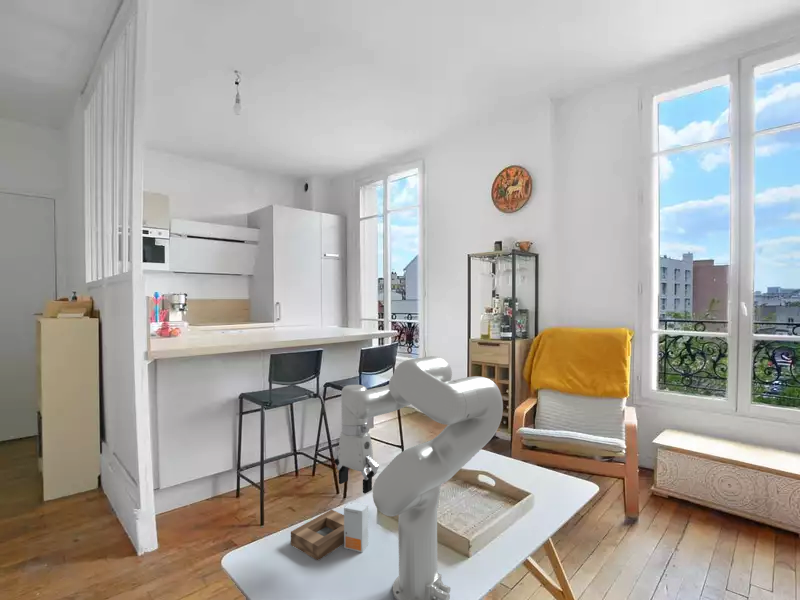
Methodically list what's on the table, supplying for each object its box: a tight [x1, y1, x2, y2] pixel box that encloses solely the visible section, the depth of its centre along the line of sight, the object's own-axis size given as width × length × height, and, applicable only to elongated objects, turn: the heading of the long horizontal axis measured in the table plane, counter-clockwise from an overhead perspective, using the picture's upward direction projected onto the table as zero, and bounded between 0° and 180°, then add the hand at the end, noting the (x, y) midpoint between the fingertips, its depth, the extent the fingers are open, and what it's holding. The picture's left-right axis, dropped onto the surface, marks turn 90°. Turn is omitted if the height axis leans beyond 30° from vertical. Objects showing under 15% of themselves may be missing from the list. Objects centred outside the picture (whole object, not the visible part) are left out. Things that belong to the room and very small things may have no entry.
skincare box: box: [343, 501, 369, 553], centre depth 121 cm, size 6×4×12 cm
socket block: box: [290, 509, 344, 561], centre depth 125 cm, size 12×16×4 cm
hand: (355, 487), depth 122 cm, fingers open, 9 cm apart
